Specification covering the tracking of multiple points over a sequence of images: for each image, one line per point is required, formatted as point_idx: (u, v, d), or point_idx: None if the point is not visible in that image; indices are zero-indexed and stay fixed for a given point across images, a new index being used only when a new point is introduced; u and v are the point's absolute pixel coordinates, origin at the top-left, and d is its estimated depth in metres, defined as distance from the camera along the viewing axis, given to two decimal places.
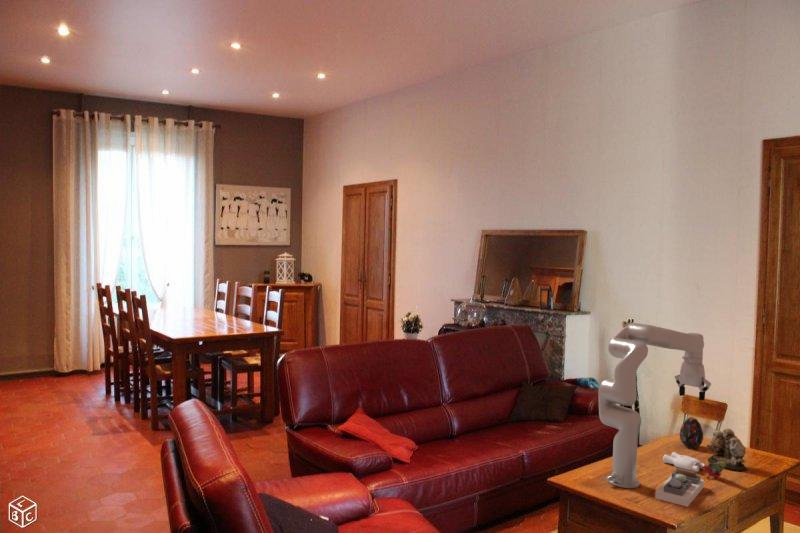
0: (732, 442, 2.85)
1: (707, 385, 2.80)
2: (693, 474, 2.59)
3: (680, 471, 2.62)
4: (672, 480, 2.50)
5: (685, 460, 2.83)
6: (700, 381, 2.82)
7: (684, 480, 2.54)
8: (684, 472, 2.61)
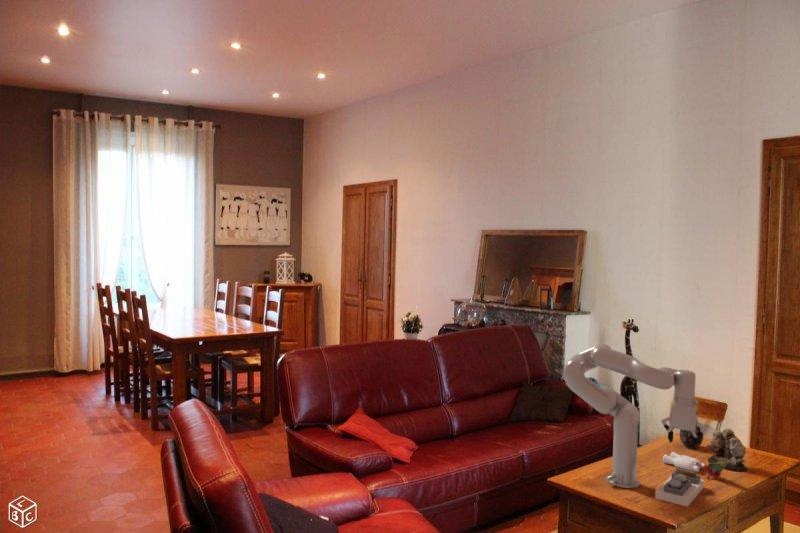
0: (732, 442, 2.85)
1: None
2: (693, 474, 2.59)
3: (680, 471, 2.62)
4: (672, 480, 2.50)
5: (685, 460, 2.83)
6: None
7: (684, 480, 2.54)
8: (684, 472, 2.61)
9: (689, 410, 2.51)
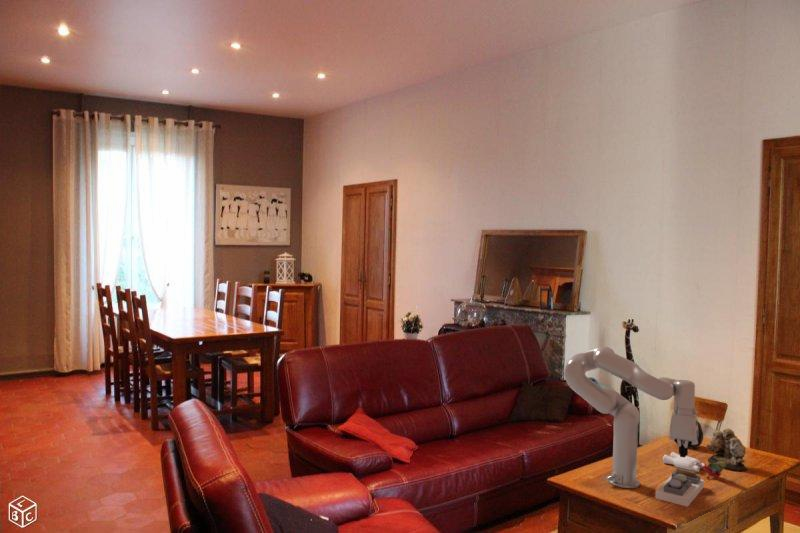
0: (732, 442, 2.85)
1: None
2: (693, 474, 2.59)
3: (680, 471, 2.62)
4: (672, 480, 2.50)
5: (685, 460, 2.83)
6: None
7: (684, 480, 2.54)
8: (684, 472, 2.61)
9: (689, 421, 2.51)
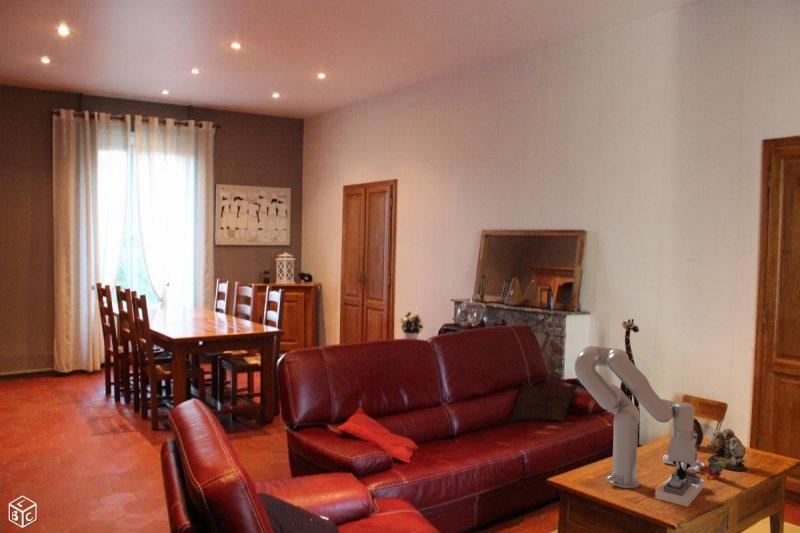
0: (732, 442, 2.85)
1: None
2: (693, 474, 2.59)
3: None
4: (672, 480, 2.50)
5: None
6: None
7: None
8: None
9: (688, 443, 2.52)
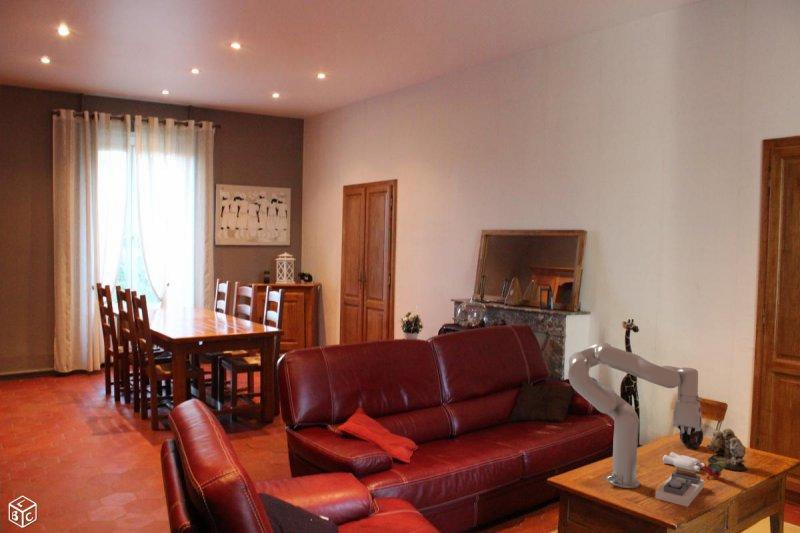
0: (732, 442, 2.85)
1: None
2: (693, 474, 2.59)
3: (680, 471, 2.62)
4: (672, 480, 2.50)
5: (685, 460, 2.83)
6: None
7: None
8: (684, 472, 2.61)
9: (692, 407, 2.55)
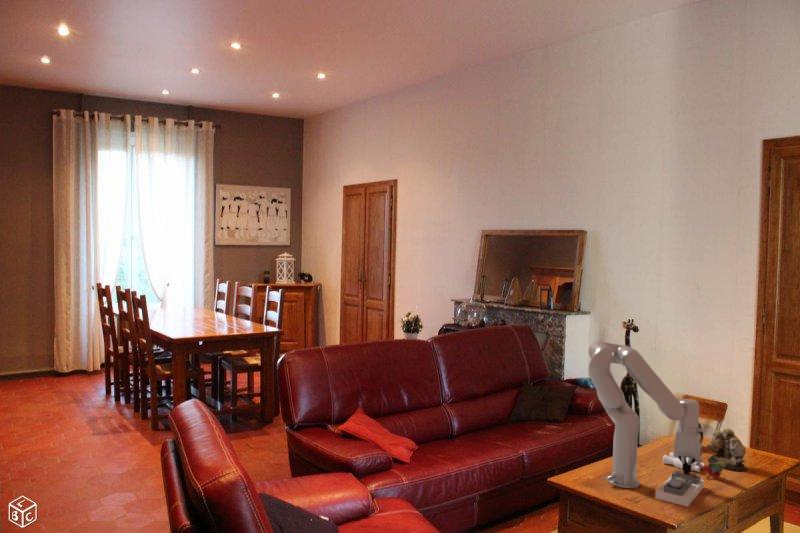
0: (732, 442, 2.85)
1: None
2: (693, 477, 2.59)
3: (680, 474, 2.62)
4: (672, 480, 2.50)
5: (686, 460, 2.83)
6: None
7: None
8: (684, 475, 2.61)
9: (693, 439, 2.58)
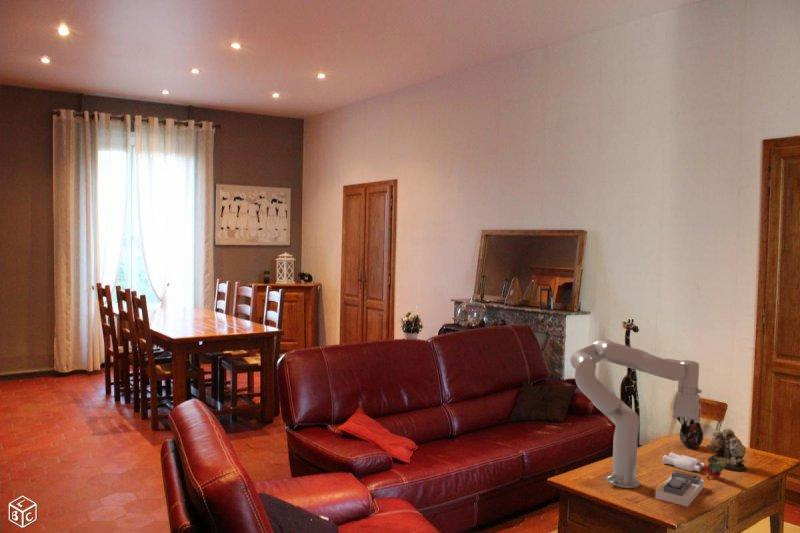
0: (732, 442, 2.85)
1: None
2: None
3: None
4: (672, 480, 2.50)
5: (686, 460, 2.83)
6: None
7: None
8: None
9: (692, 399, 2.59)
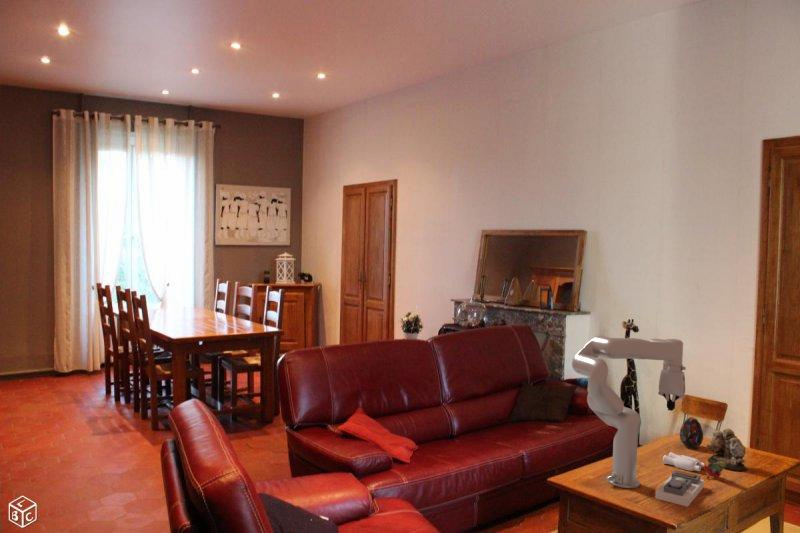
0: (732, 442, 2.85)
1: None
2: None
3: None
4: (672, 480, 2.50)
5: (686, 460, 2.83)
6: None
7: None
8: None
9: (677, 376, 2.69)
